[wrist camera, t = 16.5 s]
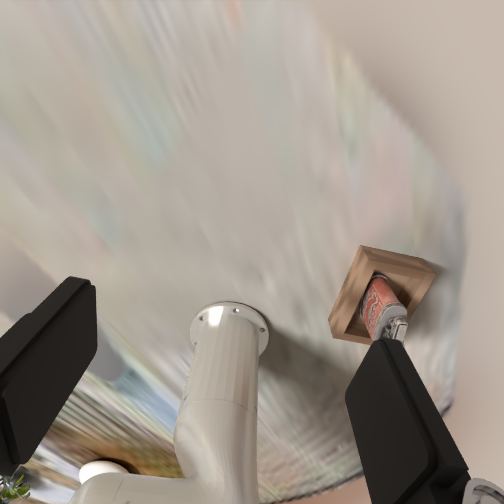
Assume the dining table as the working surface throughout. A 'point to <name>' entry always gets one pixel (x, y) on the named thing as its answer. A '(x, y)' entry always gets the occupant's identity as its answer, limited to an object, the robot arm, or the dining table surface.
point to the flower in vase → (99, 469)
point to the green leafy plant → (13, 489)
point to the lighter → (382, 310)
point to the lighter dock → (364, 265)
